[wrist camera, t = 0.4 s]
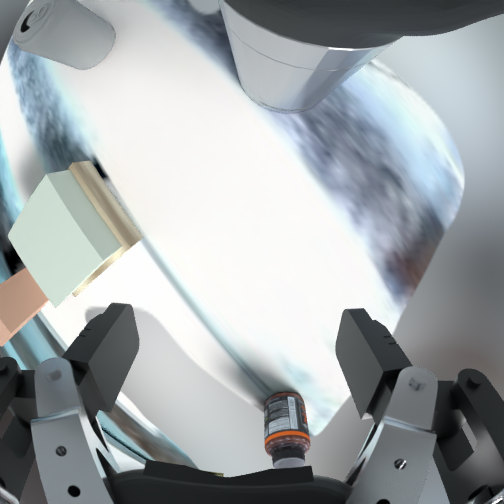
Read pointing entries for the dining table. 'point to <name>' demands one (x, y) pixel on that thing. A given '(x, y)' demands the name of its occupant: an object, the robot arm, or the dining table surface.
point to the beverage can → (64, 33)
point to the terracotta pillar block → (18, 303)
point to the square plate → (124, 455)
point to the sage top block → (61, 236)
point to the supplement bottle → (286, 430)
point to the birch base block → (105, 214)
